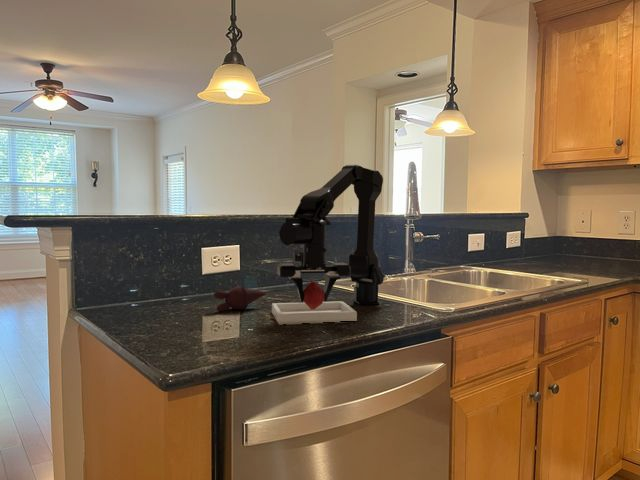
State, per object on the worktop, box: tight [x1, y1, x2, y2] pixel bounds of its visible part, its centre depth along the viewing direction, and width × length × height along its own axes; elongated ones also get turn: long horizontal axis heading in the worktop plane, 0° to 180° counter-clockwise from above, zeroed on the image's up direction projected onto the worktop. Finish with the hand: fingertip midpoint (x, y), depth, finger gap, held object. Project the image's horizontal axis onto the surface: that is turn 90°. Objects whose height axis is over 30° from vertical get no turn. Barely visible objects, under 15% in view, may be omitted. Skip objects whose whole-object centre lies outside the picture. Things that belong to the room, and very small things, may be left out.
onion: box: [303, 279, 325, 310], centre depth 124 cm, size 6×6×8 cm
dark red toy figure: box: [213, 284, 267, 313], centre depth 132 cm, size 7×7×15 cm
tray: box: [271, 300, 358, 326], centre depth 124 cm, size 20×13×2 cm, turn 103°
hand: (313, 302), depth 124 cm, fingers closed on onion, 6 cm apart
